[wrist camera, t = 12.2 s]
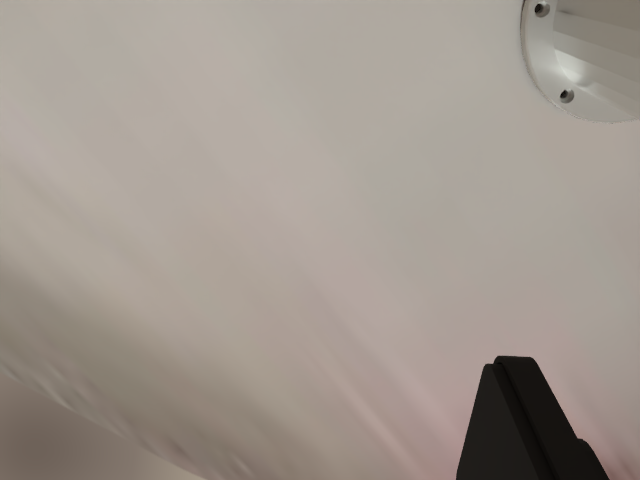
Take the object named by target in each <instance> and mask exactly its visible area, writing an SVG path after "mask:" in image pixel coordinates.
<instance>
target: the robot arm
mask: <svg viewBox="0 0 640 480" xmlns="http://www.w3.org/2000/svg"><path fill="white" fill-rule="evenodd" d="M537 4H540V5H541V9H540V11H538V12H537V13H535V7H536V5H537ZM520 35H521V44H522V54H523V57H524V61H525V64H526V67H527V70H528V73H529V75H530V76H531V78H532V80H533V82H534V83H535V85H536V87H537V88H538V90H539V91H540V92H541V93H542V94H543V95H544V96H545V97H546V98H547V99H548V100H549V101H550V102H551V103H553V104H554V105H555V106H557V107H558V108H560V109H561V110H563V111H565V112H567V113H569V114H571V115H572V116H574V117H576V118H580V119H583V120H587V121H591V122H596V123H612V124H613V123H621V122H629V121H634V120H637V119H639V120H640V0H525V4H524V8H523V11H522V21H521V33H520ZM564 90H565V94H564V95H563V96H562V97H560V95H561V93H562V92H563V91H564ZM456 480H609V478H608V476H607V474H606V473H605V471H604V469H603V467H602V465H601V464H600V462H599V460H598V458H597V456H596V455H595V453H594V451H593V450H592V448H591V447H590V446H589V444H588V443H587V442H585V441H584V440H583V439H578V438H577V436H576V435H575V433H574V431H573V429H572V427H571V425H570V424H569V422H568V420H567V418H566V416H565V414H564V412H563V411H562V409H561V407H560V405H559V403H558V401H557V399H556V398H555V396H554V394H553V392H552V390H551V388H550V387H549V385H548V383H547V381H546V379H545V377H544V375H543V374H542V372H541V370H540V368H539V366H538V364H537V363H536V361H535V360H534V359H533V358H531V357H517V356H497V357H496V359H495V360H494V363H493V364H486V365H485V366H484V368H483V371H482V375H481V379H480V383H479V387H478V391H477V395H476V399H475V403H474V407H473V411H472V414H471V418H470V422H469V426H468V430H467V434H466V438H465V442H464V446H463V450H462V454H461V458H460V462H459V465H458V469H457V475H456Z"/></svg>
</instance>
